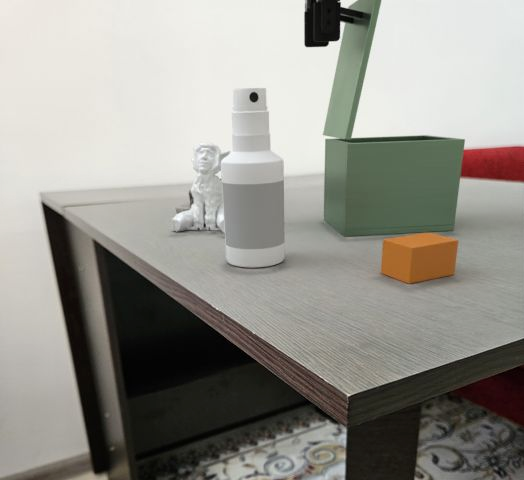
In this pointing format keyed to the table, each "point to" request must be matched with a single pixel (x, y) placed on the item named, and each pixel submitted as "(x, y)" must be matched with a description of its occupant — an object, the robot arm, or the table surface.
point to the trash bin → (392, 184)
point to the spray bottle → (252, 186)
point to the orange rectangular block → (419, 257)
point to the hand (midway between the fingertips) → (321, 42)
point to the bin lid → (351, 67)
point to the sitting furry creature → (204, 192)
